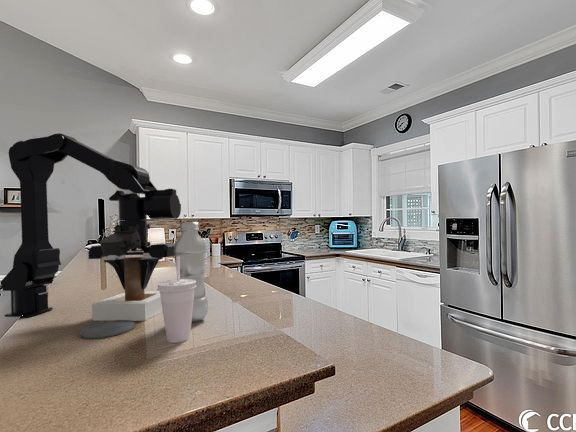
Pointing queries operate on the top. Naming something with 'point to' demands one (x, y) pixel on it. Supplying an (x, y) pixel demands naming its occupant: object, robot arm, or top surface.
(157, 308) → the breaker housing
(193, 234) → the plastic bottle
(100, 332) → the slate mat
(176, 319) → the smoothie
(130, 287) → the brown cylindrical post
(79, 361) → the top surface
